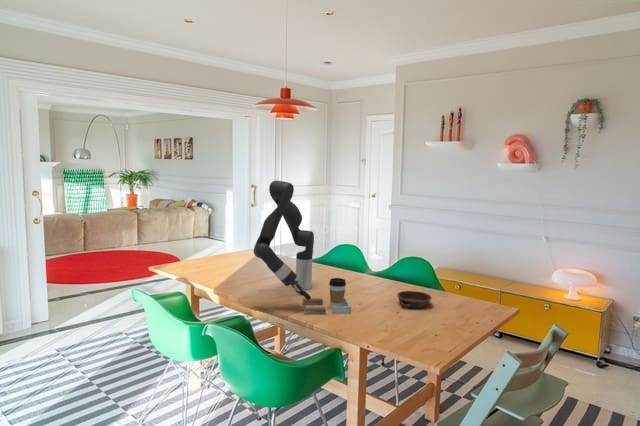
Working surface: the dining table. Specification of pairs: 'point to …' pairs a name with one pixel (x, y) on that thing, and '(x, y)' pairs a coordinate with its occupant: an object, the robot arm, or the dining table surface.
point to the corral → (343, 309)
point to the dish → (414, 299)
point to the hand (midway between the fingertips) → (309, 298)
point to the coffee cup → (337, 292)
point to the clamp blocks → (314, 309)
